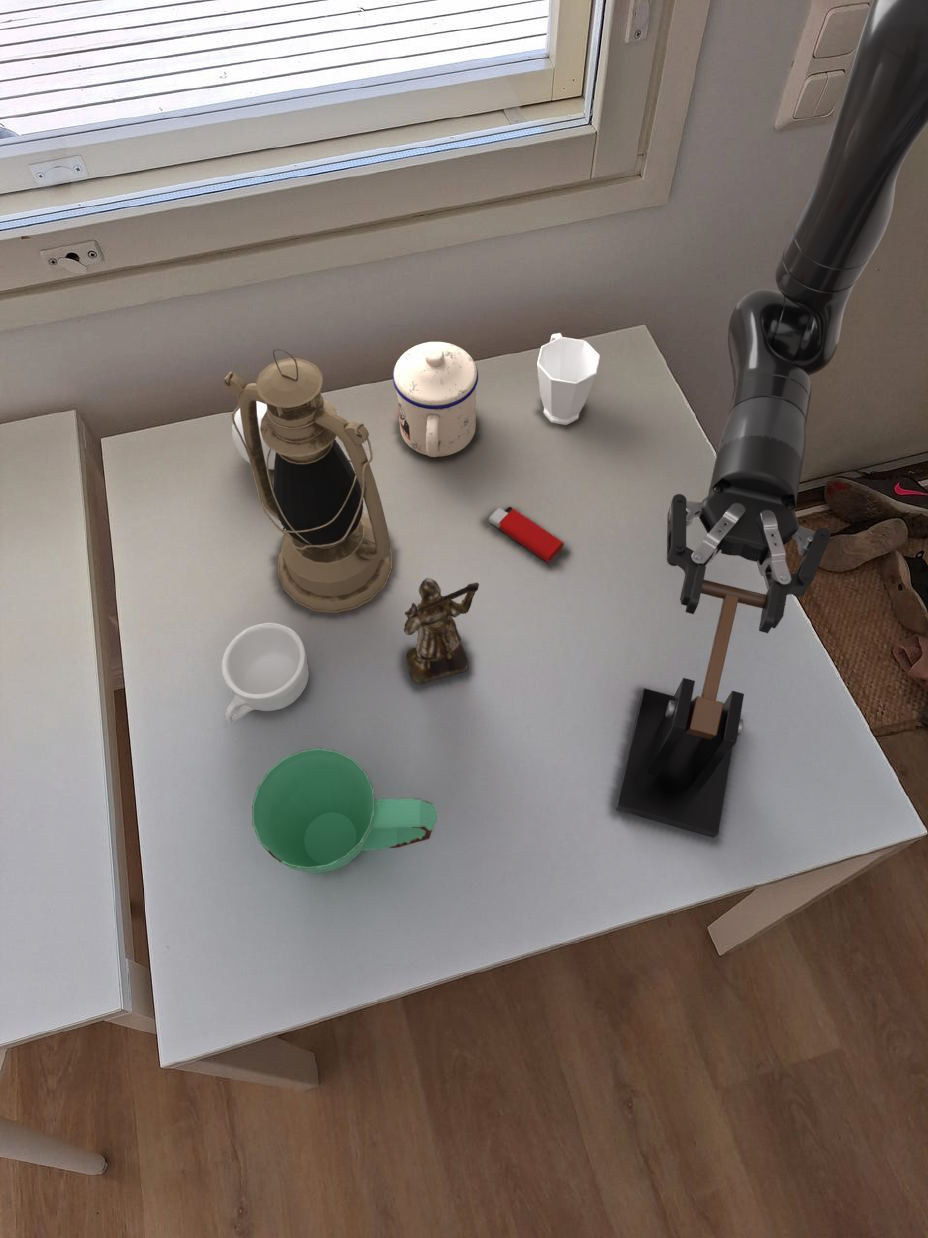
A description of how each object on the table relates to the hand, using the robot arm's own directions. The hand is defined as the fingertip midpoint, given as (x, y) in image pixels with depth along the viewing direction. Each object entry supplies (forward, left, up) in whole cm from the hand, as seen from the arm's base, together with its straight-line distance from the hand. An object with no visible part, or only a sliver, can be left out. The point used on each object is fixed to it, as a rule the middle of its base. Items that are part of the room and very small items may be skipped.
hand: (729, 618), depth 73 cm
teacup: (+41, +2, -14) cm, 44 cm away
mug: (+31, +16, -14) cm, 38 cm away
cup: (+12, -36, -14) cm, 41 cm away
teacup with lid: (+26, -30, -14) cm, 43 cm away
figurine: (+24, -2, -14) cm, 28 cm away
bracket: (+2, +8, -14) cm, 16 cm away
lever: (+1, +3, -3) cm, 4 cm away
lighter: (+16, -17, -14) cm, 28 cm away
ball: (+44, -27, -14) cm, 54 cm away
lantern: (+36, -13, -14) cm, 41 cm away
